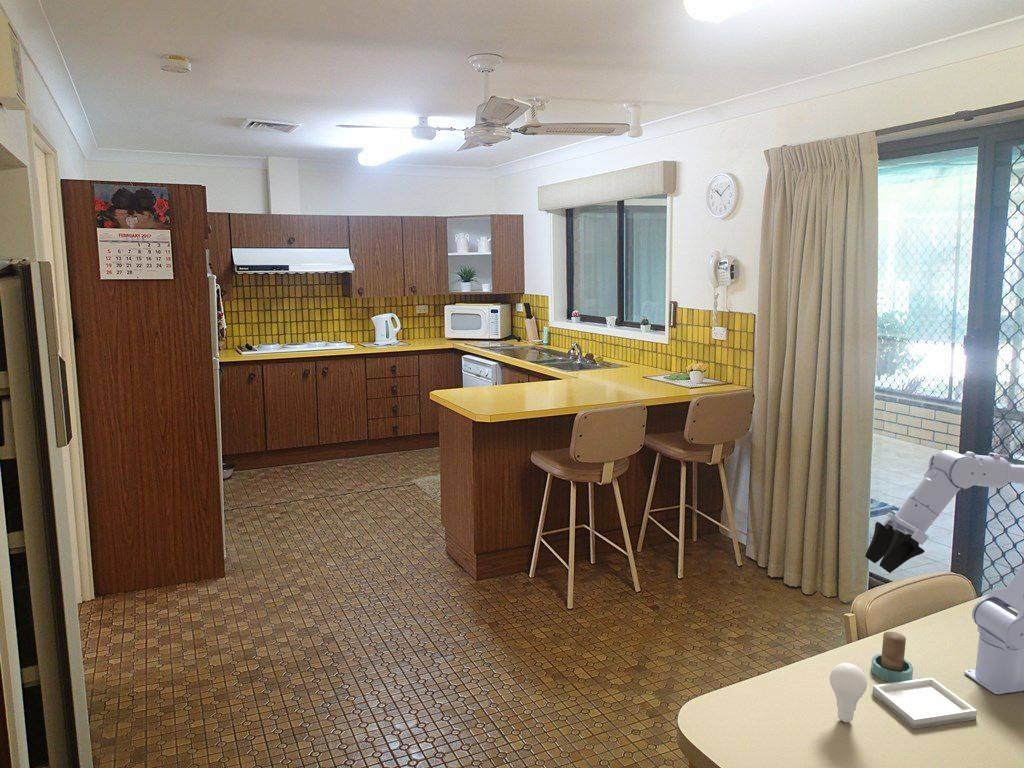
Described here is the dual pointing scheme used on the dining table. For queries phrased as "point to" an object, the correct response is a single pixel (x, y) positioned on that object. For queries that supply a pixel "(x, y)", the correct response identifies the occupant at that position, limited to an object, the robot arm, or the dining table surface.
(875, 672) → the teal ring
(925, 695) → the tray
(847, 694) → the lightbulb
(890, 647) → the dowel
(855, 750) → the dining table surface
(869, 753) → the dining table surface
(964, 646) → the dining table surface
